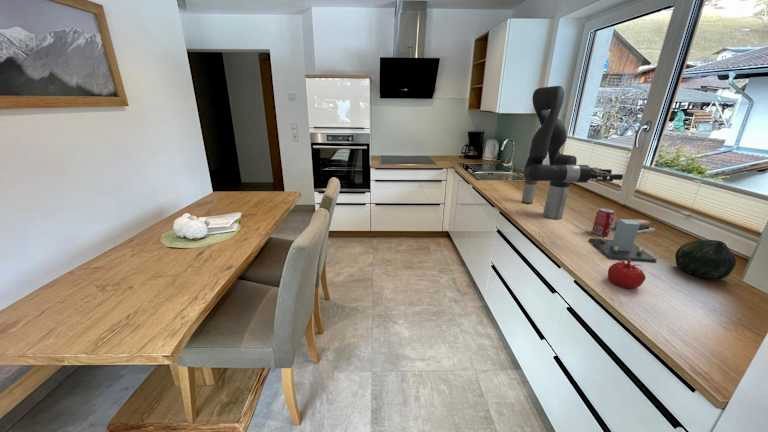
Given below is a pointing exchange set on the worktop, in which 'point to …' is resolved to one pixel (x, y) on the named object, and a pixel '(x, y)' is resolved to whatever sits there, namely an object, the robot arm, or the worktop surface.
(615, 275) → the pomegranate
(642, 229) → the packaged product
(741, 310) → the worktop surface
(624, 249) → the block
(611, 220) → the soda can
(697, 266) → the squash
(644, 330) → the worktop surface
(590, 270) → the worktop surface
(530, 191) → the bottle
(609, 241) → the plate
